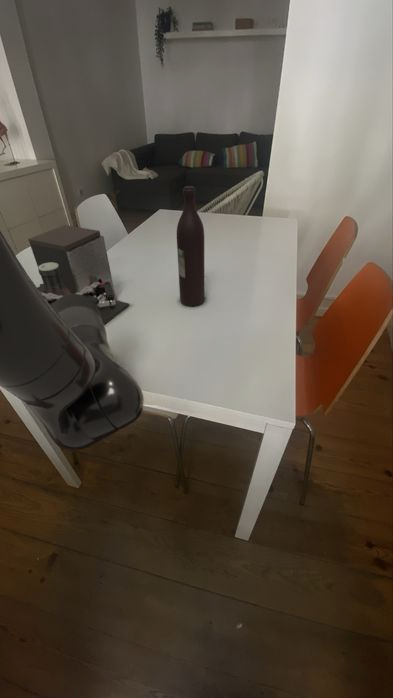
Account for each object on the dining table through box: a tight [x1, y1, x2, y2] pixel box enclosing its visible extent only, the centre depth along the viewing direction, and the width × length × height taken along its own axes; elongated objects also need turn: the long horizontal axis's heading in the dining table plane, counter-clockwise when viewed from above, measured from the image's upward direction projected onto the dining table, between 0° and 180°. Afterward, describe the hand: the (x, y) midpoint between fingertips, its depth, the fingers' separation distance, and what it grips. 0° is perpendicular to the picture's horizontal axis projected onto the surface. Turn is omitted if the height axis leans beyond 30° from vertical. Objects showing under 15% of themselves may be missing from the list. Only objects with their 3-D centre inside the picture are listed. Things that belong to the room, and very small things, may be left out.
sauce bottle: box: [37, 262, 71, 296], centre depth 71 cm, size 6×6×20 cm
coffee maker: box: [27, 224, 130, 326], centre depth 84 cm, size 18×12×20 cm, turn 63°
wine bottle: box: [176, 185, 205, 307], centre depth 83 cm, size 7×7×30 cm
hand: (67, 284), depth 59 cm, fingers open, 8 cm apart
